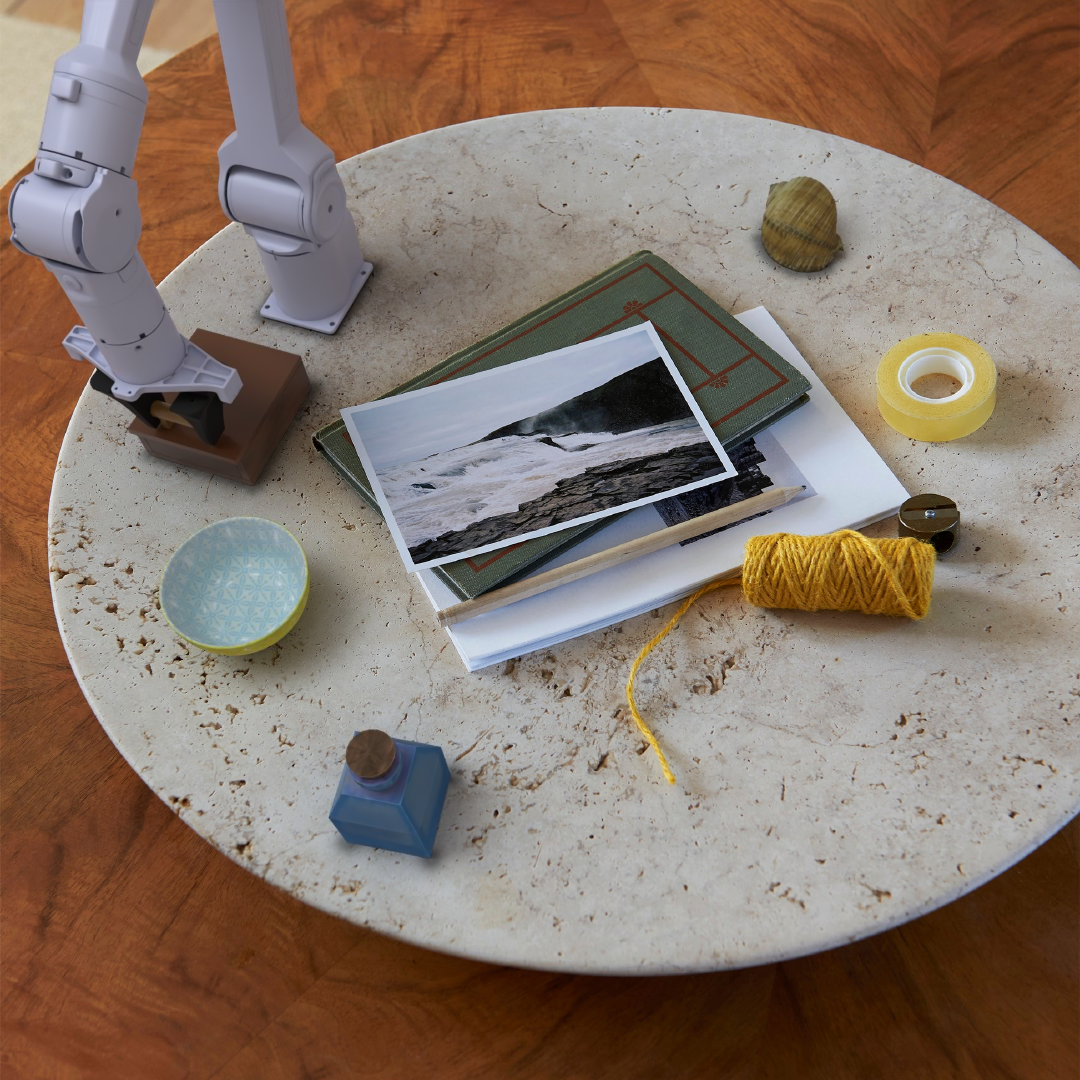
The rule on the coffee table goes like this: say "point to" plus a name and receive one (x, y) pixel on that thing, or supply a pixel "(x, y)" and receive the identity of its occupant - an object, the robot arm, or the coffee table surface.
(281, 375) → the lid
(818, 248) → the seashell
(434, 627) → the coffee table surface
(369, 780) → the perfume bottle
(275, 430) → the box
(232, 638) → the bowl
